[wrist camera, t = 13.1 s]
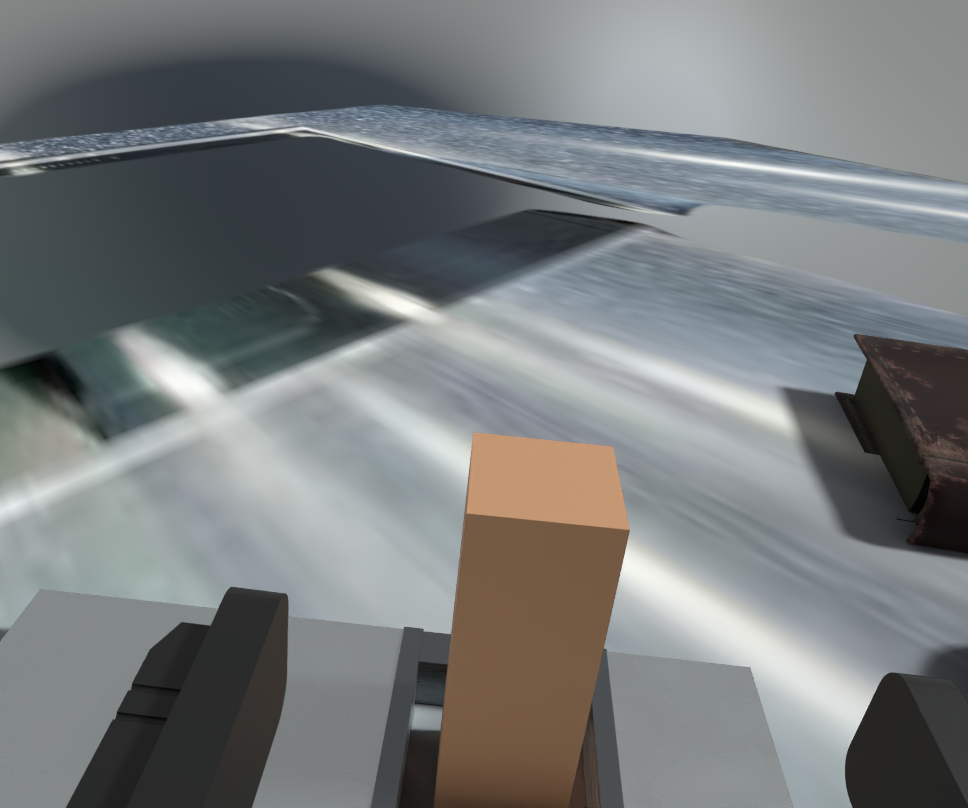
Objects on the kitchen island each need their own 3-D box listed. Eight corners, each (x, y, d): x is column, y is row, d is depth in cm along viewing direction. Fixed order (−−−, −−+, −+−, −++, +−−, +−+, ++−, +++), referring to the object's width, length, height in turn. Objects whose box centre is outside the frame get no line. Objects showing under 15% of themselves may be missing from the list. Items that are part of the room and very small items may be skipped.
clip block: (430, 833, 26) (466, 513, 21) (440, 730, 30) (473, 432, 24) (559, 846, 27) (629, 529, 21) (554, 741, 30) (613, 446, 25)
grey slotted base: (-111, 852, 24) (-129, 802, 23) (47, 630, 32) (39, 586, 31) (804, 951, 24) (826, 906, 23) (737, 706, 32) (750, 664, 31)
